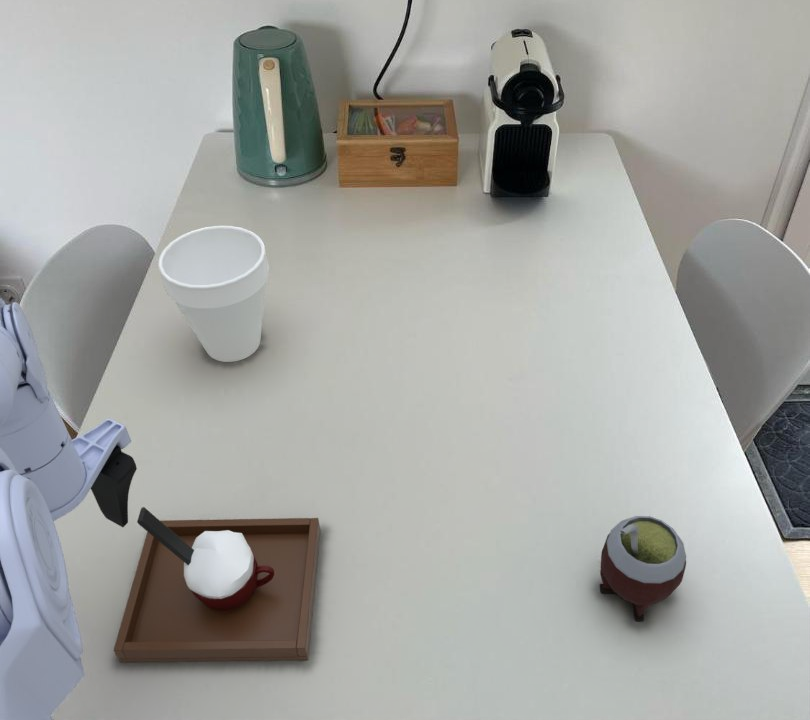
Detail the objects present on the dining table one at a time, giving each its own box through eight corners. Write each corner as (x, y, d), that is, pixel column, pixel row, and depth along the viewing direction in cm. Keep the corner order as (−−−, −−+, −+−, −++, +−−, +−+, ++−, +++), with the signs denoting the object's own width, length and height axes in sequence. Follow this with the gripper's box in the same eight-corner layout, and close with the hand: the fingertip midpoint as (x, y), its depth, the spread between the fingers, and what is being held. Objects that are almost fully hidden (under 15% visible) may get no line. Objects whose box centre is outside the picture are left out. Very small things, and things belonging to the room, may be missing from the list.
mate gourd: (666, 559, 77) (699, 455, 67) (681, 636, 71) (721, 536, 61) (586, 556, 77) (607, 453, 67) (595, 633, 72) (620, 533, 61)
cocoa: (285, 578, 76) (266, 499, 68) (250, 636, 72) (226, 559, 64) (200, 546, 79) (172, 467, 71) (162, 600, 75) (128, 522, 67)
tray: (119, 662, 71) (113, 650, 70) (155, 532, 81) (150, 520, 80) (308, 660, 71) (305, 648, 69) (320, 530, 81) (318, 517, 79)
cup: (205, 308, 107) (183, 220, 98) (294, 317, 105) (279, 229, 96) (167, 371, 99) (138, 281, 89) (263, 383, 96) (244, 292, 87)
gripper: (64, 365, 64) (112, 475, 73) (-99, 494, 55) (-21, 600, 64) (130, 395, 61) (171, 505, 71) (-31, 536, 52) (40, 641, 61)
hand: (83, 553), depth 67 cm, fingers open, 7 cm apart
